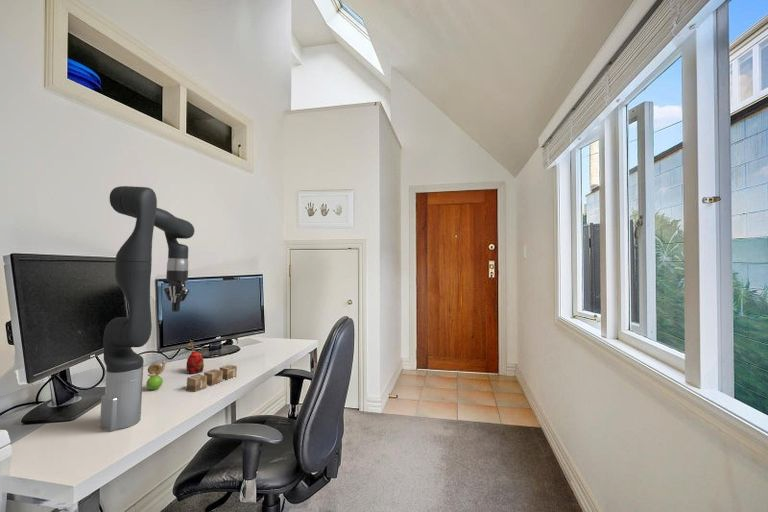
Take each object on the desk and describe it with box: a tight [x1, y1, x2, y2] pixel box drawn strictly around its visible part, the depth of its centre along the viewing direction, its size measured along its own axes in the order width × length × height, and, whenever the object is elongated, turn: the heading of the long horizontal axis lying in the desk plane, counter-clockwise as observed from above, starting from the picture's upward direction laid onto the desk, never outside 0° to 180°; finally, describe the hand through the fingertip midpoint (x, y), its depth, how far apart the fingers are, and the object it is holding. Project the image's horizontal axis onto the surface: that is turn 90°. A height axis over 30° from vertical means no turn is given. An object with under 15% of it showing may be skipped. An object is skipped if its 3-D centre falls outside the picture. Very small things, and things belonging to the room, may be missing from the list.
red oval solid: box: [185, 339, 205, 375], centre depth 152 cm, size 8×7×15 cm
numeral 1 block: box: [186, 373, 208, 393], centre depth 132 cm, size 5×5×5 cm
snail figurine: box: [145, 357, 167, 391], centre depth 131 cm, size 5×6×12 cm
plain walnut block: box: [203, 368, 223, 387], centre depth 138 cm, size 5×5×5 cm
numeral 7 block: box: [218, 364, 238, 381], centre depth 145 cm, size 5×5×5 cm
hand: (175, 311), depth 133 cm, fingers closed
